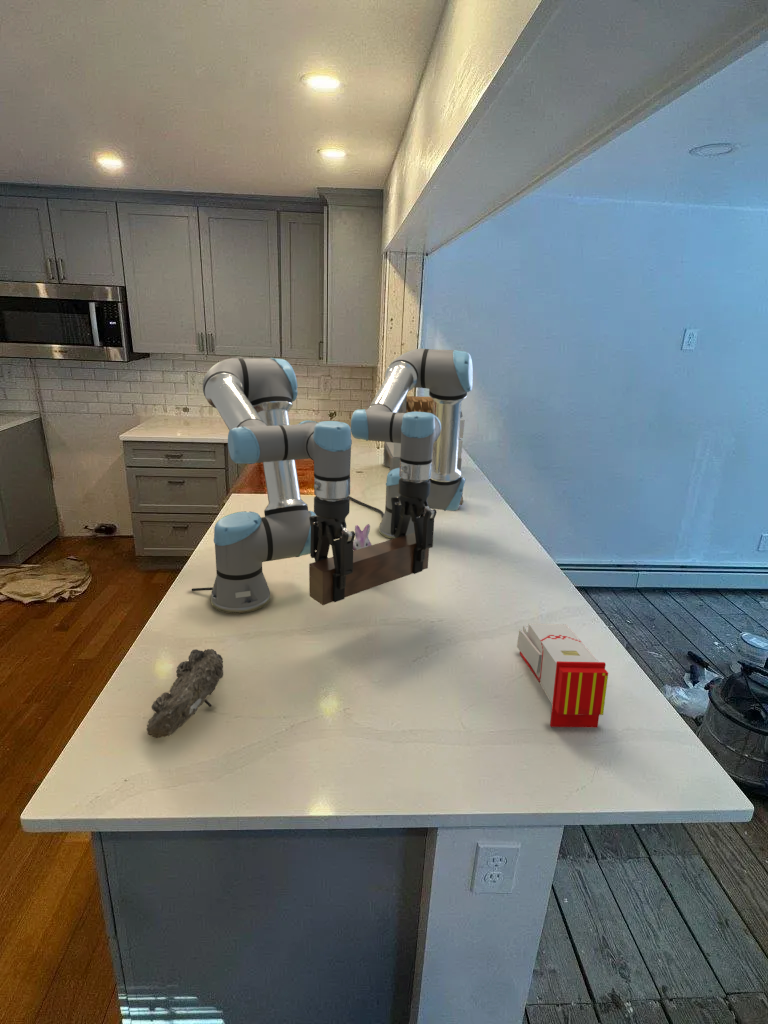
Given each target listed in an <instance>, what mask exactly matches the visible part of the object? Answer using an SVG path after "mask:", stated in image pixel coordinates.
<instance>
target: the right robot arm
mask: <svg viewBox="0 0 768 1024" xmlns="http://www.w3.org/2000/svg"><path fill="white" fill-rule="evenodd" d="M473 368H474V367H473V360H472V356H471V354H470V353H469V352H468V351H463V350H457V349H437V348H435V349H434V348H415V349H411V350H409V351H406V352H404V353H402V354H400V355H399V356H397V357H396V358H394V359H393V360H392V362H391V363H390V364H389V365H388V367H387V368H386V371H385V377H384V378H385V379H384V380H383V382H382V384H381V385H380V387H379V389H378V391H377V393H376V394H375V395H374V398H373V399H372V401H371V403H370V405H369V406H368V408H367V409H365V408H363V409H355V410H354V411H353V412H352V415H351V419H350V428H351V436H352V437H353V438H354V439H356V440H363V441H366V442H369V441H371V442H382V443H384V442H392V443H401V455H400V468H396V469H393V470H391V471H390V470H389V472H388V473H387V475H386V482H385V504H384V505H385V507H384V508H385V509H384V511H383V510H381V509H379V508H377V507H374V506H372V505H370V504H367V503H365V502H363V501H360V500H358V499H356V498H353V497H352V496H350V495H349V496H348V497H349V499H350V501H352V502H355V503H357V504H359V505H361V506H363V507H366V508H367V509H370V510H373V511H376V512H378V513H380V515H381V518H382V519H381V522H379V526H378V533H379V534H380V535H381V536H382V537H385V538H387V539H389V540H392V539H395V538H398V537H402V536H405V535H409V534H412V533H415V538H416V546H417V547H416V548H414V557H413V572H412V573H413V574H414V575H416V574H418V573H421V572H423V571H424V570H423V561H424V560H425V551H426V549H429V550H430V549H432V548H433V546H434V534H435V533H434V529H435V518H436V516H437V510H440V511H441V510H442V511H444V512H446V511H448V512H449V511H451V512H455V511H457V510H458V509H459V508H460V505H459V504H460V500H461V496H462V497H463V495H462V493H464V492H463V491H464V486H465V483H466V478H465V477H463V476H462V471H461V472H460V470H459V469H458V468H457V460H458V445H459V430H460V415H461V412H462V401H463V400H465V399H466V398H467V396H468V393H469V392H472V390H473V384H474V383H473V382H474V379H473V378H474V369H473ZM415 388H417V389H420V388H421V389H427V390H428V395H429V396H428V397H431V398H432V399H433V400H434V407H433V414H432V413H427V412H407V413H398V411H399V409H400V407H401V405H402V403H403V401H404V399H405V397H406V395H407V396H408V393H409V392H410V391H412V390H413V389H415ZM421 543H422V544H421Z"/></svg>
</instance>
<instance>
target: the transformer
mask: <svg viewBox="0 0 768 1024" xmlns="http://www.w3.org/2000/svg"><path fill="white" fill-rule="evenodd" d="M433 407H434V400H433V399H432V398H431V397H430V396H415V395H414V396H413V395H412V396H411V395H408V394H407V395H406V397H405V399H404V401H403V403H402V405H401V407H400V409H399V411H398V413H407V412H427V413H432V414H433ZM464 429H465V419H464V418H463V411H461V415H460V430H459V445H458V460H457V468H458V469H459V470H460V472H461V473H462V461H463V460H462V453H463V442H464V441H463V440H462V439H463V438H464V431H465V430H464ZM400 455H401V443H392V442H383V466H384V467H388V468H389V472H390V471H391V470H393V469H396V468H400Z"/></svg>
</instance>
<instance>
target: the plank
mask: <svg viewBox="0 0 768 1024" xmlns="http://www.w3.org/2000/svg"><path fill="white" fill-rule="evenodd" d="M421 544H422V543H421ZM416 547H417V546H416V538H415V533H412V534H409V535H405V536H402V537H398V538H395V539H388V540H386V541H382V542H378V543H375V544H371V546H368V547H364V548H361V549H358V550H353V573H352V574H349V575H346V587H345V598H347V597H350V596H354V595H356V594H359V593H361V592H364V591H365V592H366V591H367V590H370V589H372V588H376V587H379V586H382V585H384V584H387V583H390V582H393V581H396V580H398V579H399V580H400V579H401V578H404V577H406V576H410V575H413V574H414V573H412V572H413V557H414V548H416ZM429 556H430V548H429V549H426V551H425V560H424V561H423V570H422V571H424V570H427V569H428V568H429ZM308 566H309V567H308V568H309V569H308V571H309V572H308V577H309V578H308V579H309V581H308V587H309V589H308V590H309V591H308V592H309V597H310V598H311V599H313V600H314V601H316V602H317V603H318V604H319V605H321V606H326V605H328V604H331V603H334V602H333V574H334V573H335V566H334V559H333V556H331V557H328V558H327V559H324V560H320V561H317V562H315V561H314V562H310V563H309V565H308Z"/></svg>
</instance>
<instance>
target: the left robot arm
mask: <svg viewBox="0 0 768 1024" xmlns="http://www.w3.org/2000/svg"><path fill="white" fill-rule="evenodd" d="M298 392H299V391H298V381H297V376H296V373H295V370H294V368H293V366H292V365H291V363H289V361H288V360H286V359H283V358H275V357H267V358H260V357H259V358H257V357H256V358H251V357H249V358H247V357H246V358H243V357H242V358H237V357H233V358H231V357H230V358H226V359H222V360H220V361H219V362H217V363H215V364H213V366H211V367H210V368H209V369H208V371H207V372H206V374H205V375H204V378H203V381H202V393H203V395H204V397H205V399H206V401H207V402H208V404H209V405H210V406H211V407H212V408H214V409H216V410H217V412H218V414H219V415H220V417H221V419H222V421H223V422H224V424H225V426H226V427H227V430H228V434H227V449H228V453H229V458H230V459H231V461H232V462H233V463H235V464H237V465H238V464H239V465H240V464H241V465H242V464H244V465H245V464H249V465H254V464H261V463H262V466H263V467H262V468H263V474H264V480H265V486H266V494H267V500H268V504H267V506H266V507H265V508H264V510H263V513H264V516H260V514H259V513H258V512H255V511H237V512H233V513H229V514H227V515H224V516H223V517H221V518H220V519H218V520H217V521H216V522H215V525H214V528H213V529H214V531H213V543H214V554H215V556H214V557H215V568H216V570H215V571H216V575H215V579H214V583H213V586H212V587H195V588H191V592H200V591H201V592H203V591H211V593H210V603H211V606H212V607H213V608H214V609H216V610H217V611H220V612H222V613H226V614H246V613H247V614H248V613H251V612H254V611H258V610H260V609H262V608H264V607H265V606H266V605H268V603H269V602H270V600H271V590H270V587H269V584H268V582H267V580H266V576H265V575H264V572H263V563H265V562H272V561H279V560H285V559H291V558H300V557H302V556H306V555H310V558H311V559H314V562H317V561H320V560H324V559H327V558H329V557H328V556H329V551H330V547H331V551H332V552H331V553H332V557H333V559H334V566H335V573H334V574H333V602H332V603H337V602H339V601H343V600H345V598H346V597H345V587H346V575H349V574H352V573H353V551H354V550H353V542H354V540H355V530H351V531H350V530H349V529H348V528H347V521H346V518H347V517H348V516H349V514H350V505H351V504H350V502H351V500H350V499H349V497H348V496H350V495H351V462H352V461H351V460H352V459H351V458H352V445H353V441H352V440H353V439H352V433H351V425H350V424H348V423H347V422H343V421H339V420H338V421H337V420H324V421H323V420H322V421H319V422H317V421H315V420H310V419H309V420H303V421H300V422H298V423H297V424H290V423H291V422H290V418H289V417H290V416H289V412H290V411H291V409H292V408H293V402H295V401H297V398H298ZM296 460H312V462H313V478H314V479H313V484H314V485H313V494H314V497H313V510H309V506H308V504H307V503H306V502H305V501H303V500H302V498H301V491H300V484H299V477H298V471H297V464H296Z"/></svg>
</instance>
